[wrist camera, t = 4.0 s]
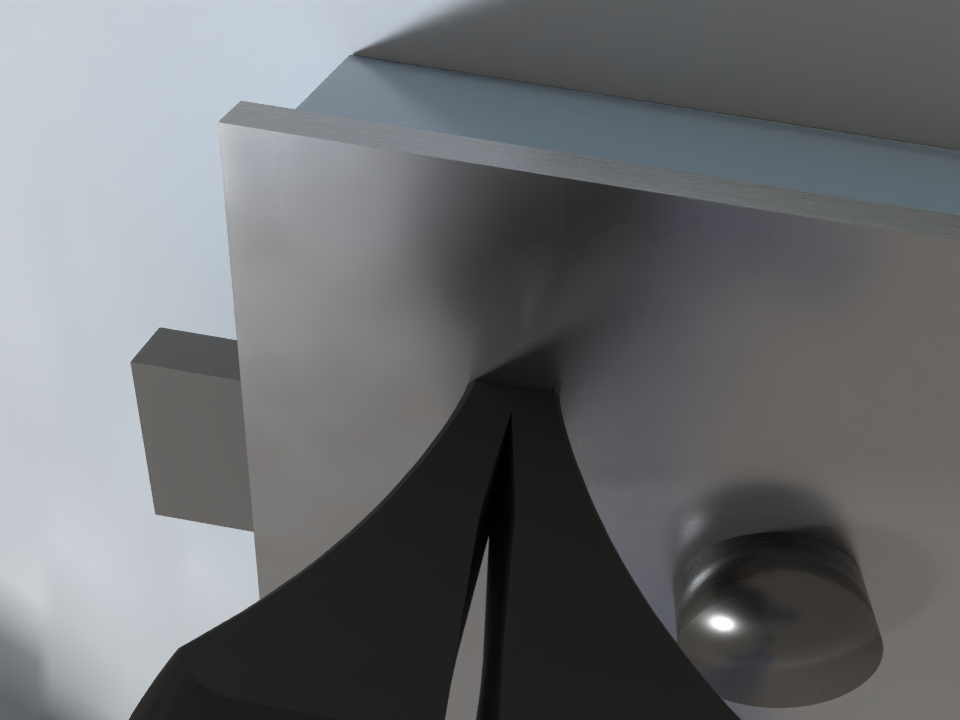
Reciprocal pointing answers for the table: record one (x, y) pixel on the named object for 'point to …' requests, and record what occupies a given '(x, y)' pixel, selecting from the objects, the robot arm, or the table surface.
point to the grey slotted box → (520, 121)
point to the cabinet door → (622, 386)
